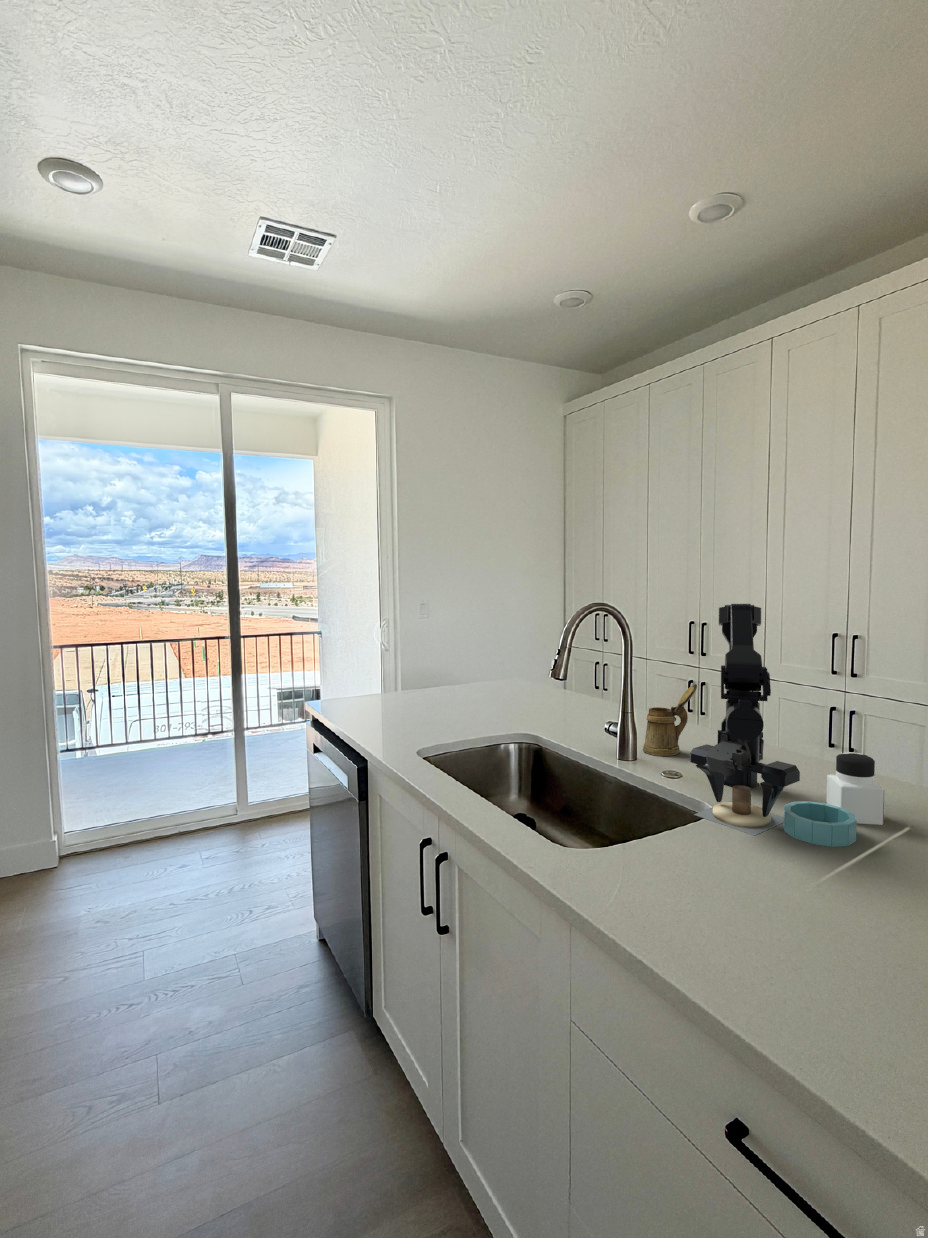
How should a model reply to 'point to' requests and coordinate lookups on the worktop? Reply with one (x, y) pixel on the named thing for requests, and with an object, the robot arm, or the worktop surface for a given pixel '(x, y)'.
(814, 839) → the bowl
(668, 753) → the wooden mug
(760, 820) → the lid
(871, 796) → the medicine bottle
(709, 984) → the worktop surface
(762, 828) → the mat
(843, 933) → the worktop surface
